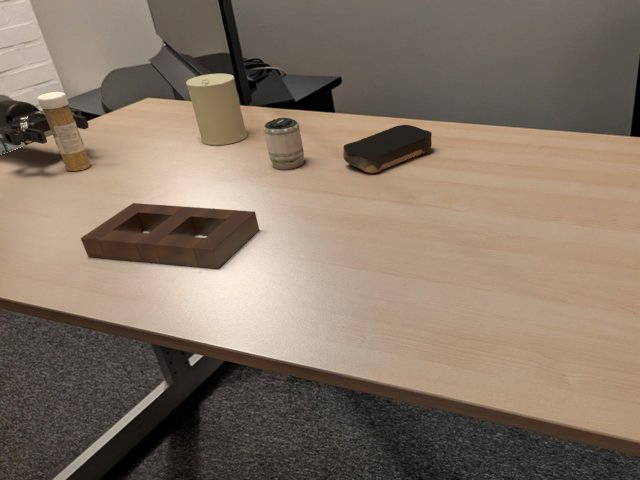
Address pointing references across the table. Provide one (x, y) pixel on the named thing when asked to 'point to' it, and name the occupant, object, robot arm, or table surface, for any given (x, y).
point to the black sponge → (387, 148)
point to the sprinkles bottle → (64, 130)
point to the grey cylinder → (284, 143)
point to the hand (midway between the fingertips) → (65, 130)
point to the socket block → (172, 235)
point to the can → (217, 109)
